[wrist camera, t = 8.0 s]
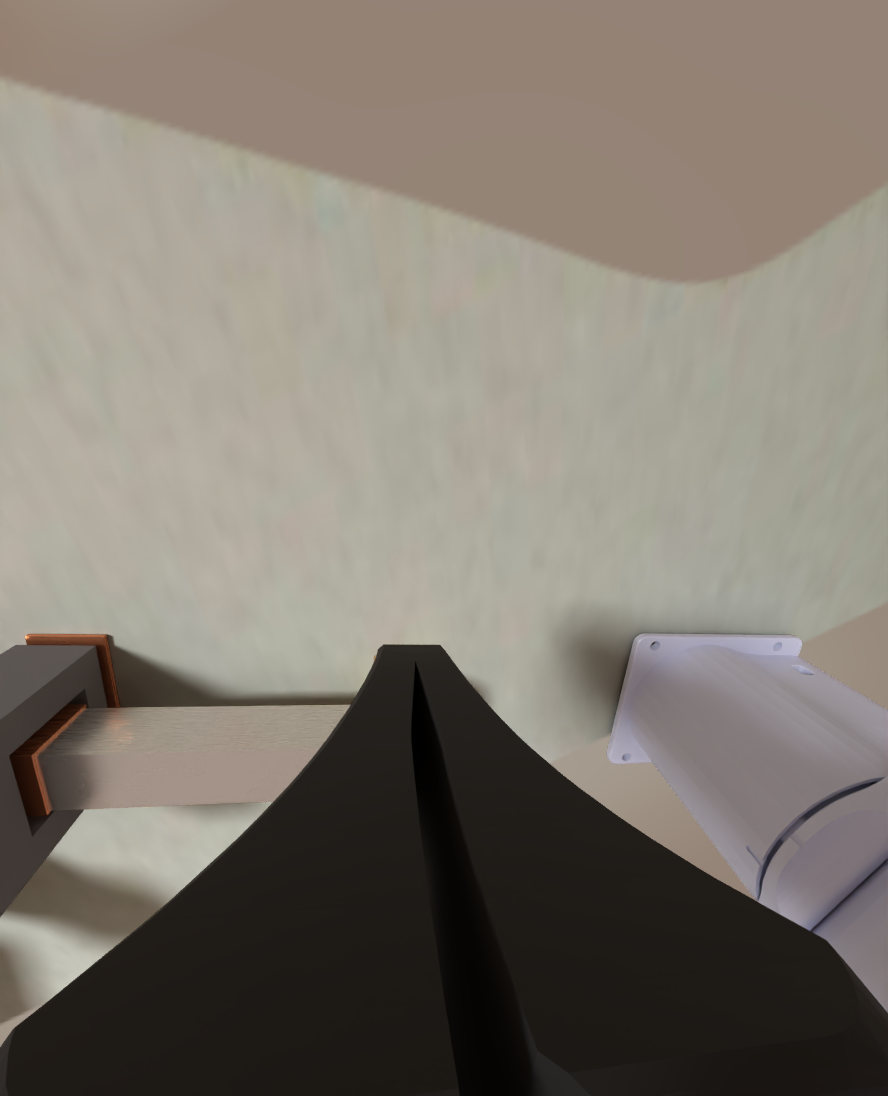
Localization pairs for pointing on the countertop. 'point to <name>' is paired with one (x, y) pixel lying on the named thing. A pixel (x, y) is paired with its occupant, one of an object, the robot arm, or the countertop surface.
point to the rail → (163, 750)
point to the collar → (14, 716)
